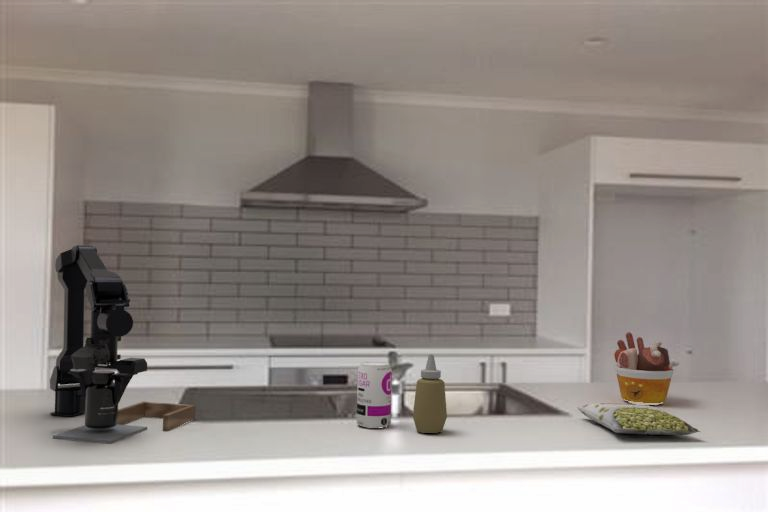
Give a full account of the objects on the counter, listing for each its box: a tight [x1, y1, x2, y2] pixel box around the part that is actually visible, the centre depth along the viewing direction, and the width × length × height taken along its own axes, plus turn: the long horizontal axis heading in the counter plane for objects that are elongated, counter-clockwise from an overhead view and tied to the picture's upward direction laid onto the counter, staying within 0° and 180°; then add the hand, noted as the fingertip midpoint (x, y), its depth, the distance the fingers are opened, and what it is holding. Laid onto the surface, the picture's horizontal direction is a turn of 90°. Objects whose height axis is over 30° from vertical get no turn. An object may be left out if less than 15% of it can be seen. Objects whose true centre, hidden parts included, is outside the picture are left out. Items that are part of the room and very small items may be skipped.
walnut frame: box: [117, 401, 196, 432], centre depth 175 cm, size 14×13×4 cm
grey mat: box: [52, 424, 148, 444], centre depth 163 cm, size 14×14×1 cm
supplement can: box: [356, 361, 393, 428], centre depth 177 cm, size 8×8×15 cm
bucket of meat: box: [613, 332, 680, 403], centre depth 218 cm, size 20×16×20 cm
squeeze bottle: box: [412, 354, 448, 434], centre depth 172 cm, size 8×8×18 cm
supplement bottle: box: [84, 369, 119, 429], centre depth 163 cm, size 7×7×12 cm
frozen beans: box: [576, 403, 701, 436], centre depth 179 cm, size 21×6×25 cm
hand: (102, 403), depth 163 cm, fingers closed on supplement bottle, 7 cm apart
